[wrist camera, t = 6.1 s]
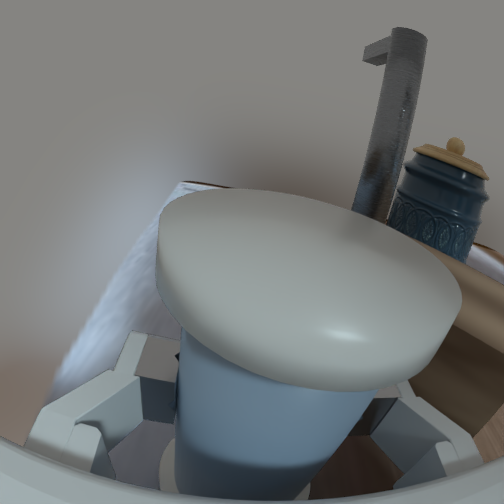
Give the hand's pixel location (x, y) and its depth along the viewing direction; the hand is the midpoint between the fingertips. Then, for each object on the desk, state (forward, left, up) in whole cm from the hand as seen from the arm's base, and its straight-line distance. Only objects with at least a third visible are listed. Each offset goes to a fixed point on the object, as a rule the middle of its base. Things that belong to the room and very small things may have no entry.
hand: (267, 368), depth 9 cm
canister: (-38, -3, -7) cm, 39 cm away
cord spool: (+1, +1, -7) cm, 7 cm away
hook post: (-10, -4, +1) cm, 11 cm away
